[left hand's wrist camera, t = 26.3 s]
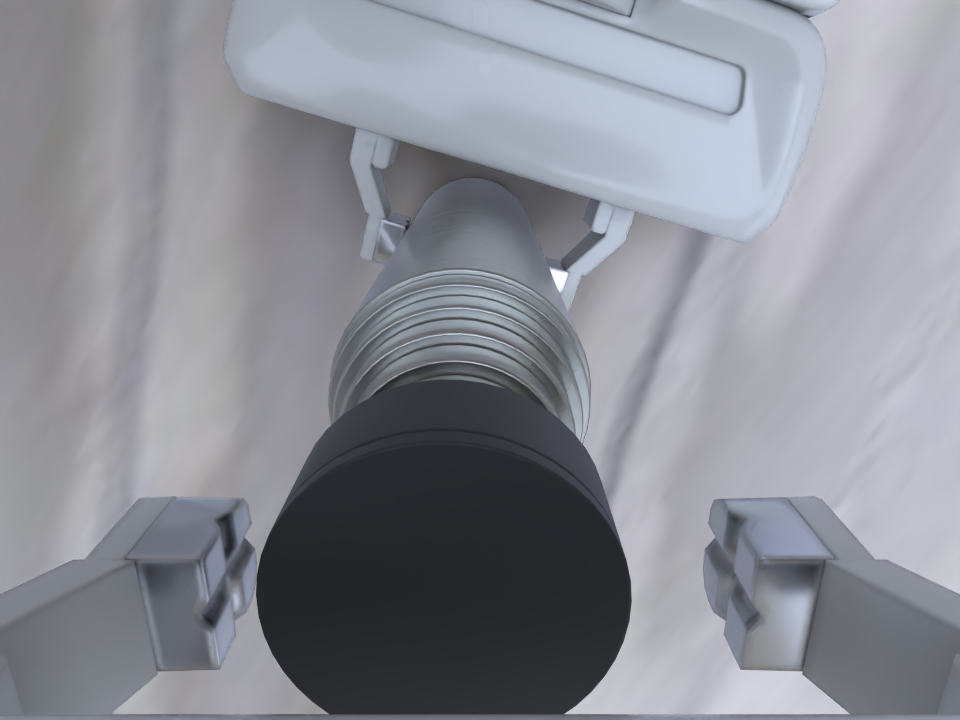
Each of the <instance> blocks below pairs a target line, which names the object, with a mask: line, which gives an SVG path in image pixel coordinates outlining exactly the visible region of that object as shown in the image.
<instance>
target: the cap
mask: <svg viewBox="0 0 960 720" xmlns="http://www.w3.org/2000/svg"><path fill="white" fill-rule="evenodd" d="M256 598H257V606H258V615H259V619H260V623H261V626H262V630H263V633H264V636H265V639H266V641H267V643H268V645H269V648H270V650H271V652H272V654H273V656H274V657H275V659H276V660H277V662H278V664H279V665H280V667H281V668H282V670H283V671H284V673H285V674H286V675H287V676H288V677H289V679H290V680H291V681H292V682H293V683H294V685H295V686H296V687H297V688H298V689H299V690H300V691H301V692H302V693H303V694H305V695H306V696H307V697H308V698H309V699H310V700H311V701H312V702H314V703H315V704H316V705H318V706H319V707H320V708H322V709H323V710H324V711H326V712H327V713H329V714H565V713H566V712H568V711H569V710H570V709H572V708H573V707H575V706H576V705H577V704H578V703H579V702H581V701H582V700H583V699H584V698H585V697H586V696H587V695H588V694H589V693H591V692H592V690H593V689H594V688H595V687H596V686H597V685H598V683H599V682H600V681H601V680H602V679H603V678H604V676H605V675H606V673H607V672H608V670H609V669H610V667H611V665H612V664H613V662H614V661H615V659H616V657H617V655H618V652H619V650H620V648H621V646H622V644H623V641H624V638H625V634H626V631H627V627H628V624H629V619H630V611H631V602H632V599H631V580H630V575H629V571H628V566H627V561H626V558H625V555H624V551H623V548H622V546H621V542H620V539H619V536H618V533H617V529H616V526H615V523H614V520H613V517H612V514H611V511H610V507H609V504H608V501H607V498H606V495H605V492H604V489H603V485H602V482H601V480H600V477H599V474H598V472H597V469H596V467H595V464H594V462H593V461H592V459H591V457H590V455H589V454H588V452H587V450H586V448H585V447H584V446H583V444H582V443H581V442H580V441H579V439H578V438H577V437H576V435H575V434H574V433H573V432H572V431H571V430H570V429H569V428H568V427H567V426H566V425H565V424H564V423H563V422H562V421H561V420H560V419H559V418H557V417H556V416H555V415H553V414H552V413H551V412H549V411H548V410H547V409H545V408H544V407H542V406H541V405H539V404H537V403H535V402H534V401H532V400H530V399H528V398H526V397H525V396H522V395H520V394H517V393H515V392H512V391H510V390H507V389H505V388H501V387H497V386H494V385H490V384H486V383H481V382H474V381H467V380H443V379H439V380H430V381H420V382H415V383H411V384H406V385H402V386H398V387H395V388H392V389H389V390H387V391H384V392H381V393H378V394H376V395H374V396H372V397H370V398H368V399H367V400H365V401H363V402H361V403H359V404H357V405H356V406H355V407H353V408H352V409H350V410H349V411H348V412H346V413H345V414H343V415H342V416H341V417H340V418H339V419H338V420H337V421H336V422H334V423H333V424H332V425H331V426H330V427H329V428H328V429H327V430H326V432H325V433H324V434H323V435H322V437H321V438H320V439H319V440H318V442H317V443H316V444H315V446H314V448H313V449H312V451H311V453H310V455H309V456H308V458H307V460H306V462H305V464H304V466H303V468H302V470H301V472H300V474H299V476H298V478H297V480H296V482H295V484H294V486H293V488H292V490H291V492H290V494H289V496H288V498H287V500H286V502H285V504H284V506H283V508H282V510H281V512H280V514H279V516H278V518H277V520H276V522H275V524H274V526H273V528H272V530H271V532H270V534H269V536H268V538H267V541H266V544H265V546H264V549H263V551H262V554H261V558H260V563H259V568H258V573H257V587H256Z"/></svg>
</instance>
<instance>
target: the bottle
mask: <svg viewBox="0 0 960 720" xmlns="http://www.w3.org/2000/svg"><path fill="white" fill-rule="evenodd" d="M439 379H443V380H467V381H474V382H481V383H486V384H490V385H494V386H497V387H501V388H505V389H507V390H510V391H512V392H515V393H517V394H520V395H522V396H525V397H526V398H528V399H530V400H532V401H534V402H535V403H537V404H539V405H541V406H542V407H544V408H545V409H547V410H548V411H549V412H551V413H552V414H553V415H555V416H556V417H557V418H559V419H560V420H561V421H562V422H563V423H564V424H565V425H566V426H567V427H568V428H569V429H570V430H571V431H572V432H573V433H574V434H575V435H576V437H577V438H578V439H579V441H580V442H581V443H582V444H583V441H584V438H585V435H586V432H587V428H588V422H589V416H590V395H591V382H590V373H589V367H588V363H587V359H586V355H585V352H584V350H583V347H582V345H581V342H580V340H579V338H578V335H577V333H576V331H575V328H574V326H573V323H572V321H571V319H570V316H569V314H568V311H567V309H566V307H565V304H564V302H563V300H562V297H561V295H560V292H559V290H558V288H557V285H556V283H555V280H554V278H553V276H552V273H551V271H550V268H549V266H548V264H547V261H546V259H545V257H544V254H543V252H542V249H541V247H540V245H539V242H538V240H537V237H536V235H535V233H534V230H533V228H532V226H531V223H530V221H529V218H528V216H527V214H526V211H525V209H524V208H523V206H522V204H521V203H520V201H519V200H518V199H517V198H516V196H514V195H513V194H512V193H511V192H510V191H509V190H508V189H506V188H505V187H503V186H502V185H500V184H498V183H496V182H493V181H491V180H487V179H483V178H462V179H457V180H454V181H451V182H449V183H447V184H445V185H443V186H441V187H440V188H438V189H437V190H436V191H434V192H433V193H432V194H431V195H430V196H429V197H428V198H427V200H426V201H425V202H424V204H423V205H422V207H421V209H420V210H419V212H418V213H417V215H416V217H415V218H414V220H413V221H412V223H411V225H410V226H409V228H408V229H407V231H406V233H405V234H404V236H403V238H402V239H401V241H400V242H399V244H398V246H397V247H396V249H395V250H394V252H393V254H392V255H391V257H390V258H389V260H388V262H387V263H386V265H385V267H384V268H383V270H382V271H381V273H380V275H379V276H378V278H377V279H376V281H375V283H374V284H373V286H372V287H371V289H370V291H369V292H368V294H367V296H366V297H365V299H364V300H363V302H362V304H361V305H360V307H359V308H358V310H357V312H356V313H355V315H354V316H353V318H352V320H351V321H350V323H349V325H348V326H347V328H346V329H345V331H344V333H343V335H342V337H341V339H340V341H339V343H338V346H337V349H336V352H335V355H334V358H333V363H332V369H331V375H330V385H329V397H328V407H329V416H330V423H331V425H332V424H333V423H334V422H336V421H337V420H338V419H339V418H340V417H341V416H342V415H343V414H345V413H346V412H348V411H349V410H350V409H352V408H353V407H355V406H356V405H357V404H359V403H361V402H363V401H365V400H367V399H368V398H370V397H372V396H374V395H376V394H378V393H381V392H384V391H387V390H389V389H392V388H395V387H398V386H402V385H406V384H411V383H415V382H420V381H430V380H439Z"/></svg>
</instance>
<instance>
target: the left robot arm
mask: <svg viewBox="0 0 960 720" xmlns="http://www.w3.org/2000/svg"><path fill="white" fill-rule="evenodd" d="M251 524H252V523H251V517H250V511H249V505H248V503H247V502H246V501H245V500H244V498H207V497H178V498H177V497H175V496H172V497H144V498H140V499H138V500H137V501H136V502H135V503H134V505H133V506H132V507H131V508H130V509H129V510H128V511H127V512H126V514H125V515H124V516H123V517H122V518H121V519H120V520H119V521H118V523H117V524H116V525H115V526H114V527H113V528H112V529H111V530H110V532H109V533H108V534H107V535H106V536H105V537H104V538H103V539H102V541H101V542H100V543H99V544H98V545H97V546H96V547H95V548H94V550H93V551H92V552H91V553H90V554H89V555H88V556H87V557H86V559H85V560H72V561H70V562H68V563H66V564H64V565H61V566H59V567H57V568H55V569H53V570H51V571H49V572H47V573H45V574H42V575H40V576H38V577H36V578H34V579H32V580H30V581H28V582H25V583H23V584H21V585H19V586H17V587H15V588H13V589H11V590H9V591H6V592H4V593H2V594H0V720H960V594H958V593H955V592H953V591H951V590H949V589H947V588H945V587H943V586H941V585H939V584H936V583H934V582H932V581H930V580H928V579H926V578H924V577H922V576H920V575H918V574H915V573H913V572H911V571H909V570H907V569H905V568H903V567H901V566H899V565H896V564H894V563H892V562H890V561H888V560H875V559H874V557H873V556H872V555H871V554H870V553H869V552H868V551H867V550H866V548H865V547H864V546H863V545H862V544H861V543H860V542H859V541H858V539H857V538H856V537H855V536H854V535H853V534H852V533H851V532H850V530H849V529H848V528H847V527H846V526H845V525H844V524H843V523H842V521H841V520H840V519H839V518H838V517H837V516H836V515H835V514H834V512H833V511H832V510H831V509H830V508H829V507H828V506H827V505H826V503H825V502H824V501H823V500H822V499H820V498H817V497H815V496H806V497H781V498H740V499H714V501H713V504H712V507H711V509H710V516H709V523H708V524H709V526H710V528H711V529H712V531H713V533H714V535H715V537H716V538H715V539H714V540H713V541H712V542H711V543H710V544H709V545H708V546H707V547H706V548H705V553H704V563H703V574H704V586H705V590H706V594H707V598H708V601H709V603H710V605H711V608H712V610H713V612H714V613H715V614H717V615H718V616H720V617H721V618H723V619H724V620H725V621H726V623H725V630H724V636H725V638H726V640H727V642H728V644H729V646H730V648H731V650H732V653H733V655H734V657H735V659H736V661H737V663H738V665H739V667H740V669H741V670H774V671H803V673H802V674H803V675H804V676H805V677H806V678H808V679H809V680H810V681H811V682H812V683H814V684H815V685H816V686H817V687H818V688H820V689H821V690H822V691H823V692H824V693H826V694H827V695H828V696H829V697H830V698H832V699H833V700H834V701H835V702H836V703H838V704H839V705H840V706H841V707H842V708H844V709H845V710H846V711H847V712H848V713H850V714H111V713H112V712H113V711H114V710H115V709H117V708H118V707H119V706H120V705H121V704H123V703H124V702H125V701H126V700H127V699H129V698H130V697H131V696H132V695H133V694H135V693H136V692H137V691H138V690H139V689H141V688H142V687H143V686H144V685H145V684H147V683H148V682H149V681H150V680H151V679H153V678H154V677H155V676H156V675H157V671H185V670H220V667H221V665H222V663H223V661H224V659H225V657H226V655H227V653H228V651H229V648H230V646H231V644H232V642H233V640H234V638H235V636H236V630H235V623H234V621H235V620H236V619H237V618H239V617H240V616H242V615H243V614H245V613H246V612H247V610H248V608H249V605H250V603H251V601H252V598H253V594H254V589H255V584H256V579H257V561H256V553H255V548H254V547H253V546H252V545H251V544H250V543H249V542H248V541H247V540H246V539H245V538H244V537H245V535H246V533H247V531H248V529H249V528H250V526H251Z"/></svg>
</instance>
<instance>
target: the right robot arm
mask: <svg viewBox="0 0 960 720" xmlns="http://www.w3.org/2000/svg"><path fill="white" fill-rule="evenodd" d="M839 1H840V0H233V2H232V6H231V10H230V15H229V20H228V25H227V30H226V35H225V41H224V50H223V54H224V59H225V63H226V65H227V67H228V69H229V71H230V73H231V75H232V77H233V79H234V81H235V83H236V85H237V86H238V88H239V90H240V91H241V92H243V93H245V94H247V95H250V96H254V97H257V98H260V99H263V100H267V101H270V102H273V103H277V104H280V105H283V106H287V107H290V108H293V109H297V110H300V111H303V112H307V113H310V114H313V115H316V116H320V117H323V118H326V119H330V120H333V121H336V122H340V123H343V124H346V125H350V126H353V127H356V130H355V135H354V140H353V144H352V149H351V154H350V158H349V161H350V164H351V168H352V171H353V174H354V177H355V180H356V184H357V187H358V190H359V193H360V197H361V200H362V203H363V206H364V209H365V213H368V214H369V215H368V220H367V224H366V228H365V233H364V237H363V241H362V246H361V250H360V258H363V259H366V260H369V261H373V262H377V263H381V264H384V265H386V263H387V262H388V260H389V258H390V257H391V255H392V254H393V252H394V250H395V249H396V247H397V246H398V244H399V242H400V241H401V239H402V238H403V236H404V234H405V233H406V231H407V229H408V228H409V225H410V221H411V218H408V217H405V216H402V215H398V214H395V213H392V211H391V207H390V203H389V199H388V196H387V192H386V188H385V184H384V181H383V177H382V173H381V170H380V169H385V168H387V167H389V166H390V165H392V164H394V162H395V158H396V154H397V150H398V146H399V142H400V141H403V142H406V143H409V144H413V145H416V146H419V147H423V148H426V149H429V150H433V151H436V152H439V153H443V154H446V155H449V156H453V157H456V158H459V159H463V160H466V161H469V162H472V163H476V164H479V165H482V166H486V167H489V168H492V169H496V170H499V171H502V172H506V173H509V174H512V175H516V176H519V177H522V178H526V179H529V180H532V181H536V182H539V183H542V184H546V185H549V186H552V187H555V188H559V189H562V190H565V191H569V192H572V193H575V194H579V195H582V196H585V197H589V198H590V201H589V204H588V207H587V210H586V213H585V216H584V222H585V223H586V224H587V225H588V226H589V228H590V229H591V230H592V232H590V233H589V234H588V235H587V236H586V237H585V238H584V239H583V240H582V241H581V242H580V243H579V244H578V245H577V246H576V247H575V248H573V249H572V250H571V251H570V252H569V253H568V254H567V255H566V256H565V257H564V258H563V259H562V260H561V261H557V260H553V259H549V258H546V257H545V259H546V261H547V264H548V266H549V268H550V271H551V273H552V276H553V278H554V280H555V283H556V285H557V288H558V290H559V292H560V295H561V297H562V300H563V302H564V304H565V307H566V309H567V311H568V312H569V310H570V308H571V305H572V302H573V299H574V296H575V293H576V290H577V288H578V285H579V282H580V279H581V276H586V275H587V274H588V273H589V272H590V271H592V270H593V269H594V268H595V267H596V266H597V265H599V264H600V263H601V262H602V261H603V260H604V259H606V258H607V257H608V256H609V255H610V254H611V253H612V252H614V251H615V250H616V249H617V248H618V247H619V246H621V245H622V244H623V243H624V242H625V240H626V237H627V234H628V232H629V229H630V226H631V223H632V221H633V218H634V215H635V213H636V212H638V213H642V214H645V215H648V216H652V217H655V218H658V219H662V220H665V221H668V222H672V223H675V224H678V225H682V226H685V227H688V228H692V229H695V230H698V231H701V232H705V233H708V234H711V235H715V236H718V237H721V238H725V239H728V240H732V241H735V242H739V243H743V242H746V241H748V240H750V239H751V238H753V237H755V236H756V235H757V234H759V233H760V232H762V231H763V230H765V229H766V228H768V227H769V226H770V225H772V224H773V222H774V221H775V220H776V218H777V217H778V215H779V213H780V211H781V209H782V207H783V205H784V203H785V201H786V198H787V196H788V194H789V191H790V189H791V187H792V184H793V182H794V179H795V176H796V174H797V171H798V169H799V166H800V163H801V161H802V158H803V155H804V152H805V149H806V146H807V143H808V140H809V137H810V134H811V131H812V128H813V125H814V122H815V118H816V115H817V112H818V108H819V105H820V101H821V98H822V94H823V89H824V85H825V78H826V68H827V60H826V51H825V46H824V43H823V40H822V37H821V35H820V33H819V31H818V30H817V28H816V27H815V26H814V25H813V23H812V22H811V21H810V20H808V18H810V17H813V16H815V15H818V14H820V13H822V12H824V11H826V10H828V9H830V8H832V7H833V6H835V5H836V4H837V3H838V2H839Z"/></svg>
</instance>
